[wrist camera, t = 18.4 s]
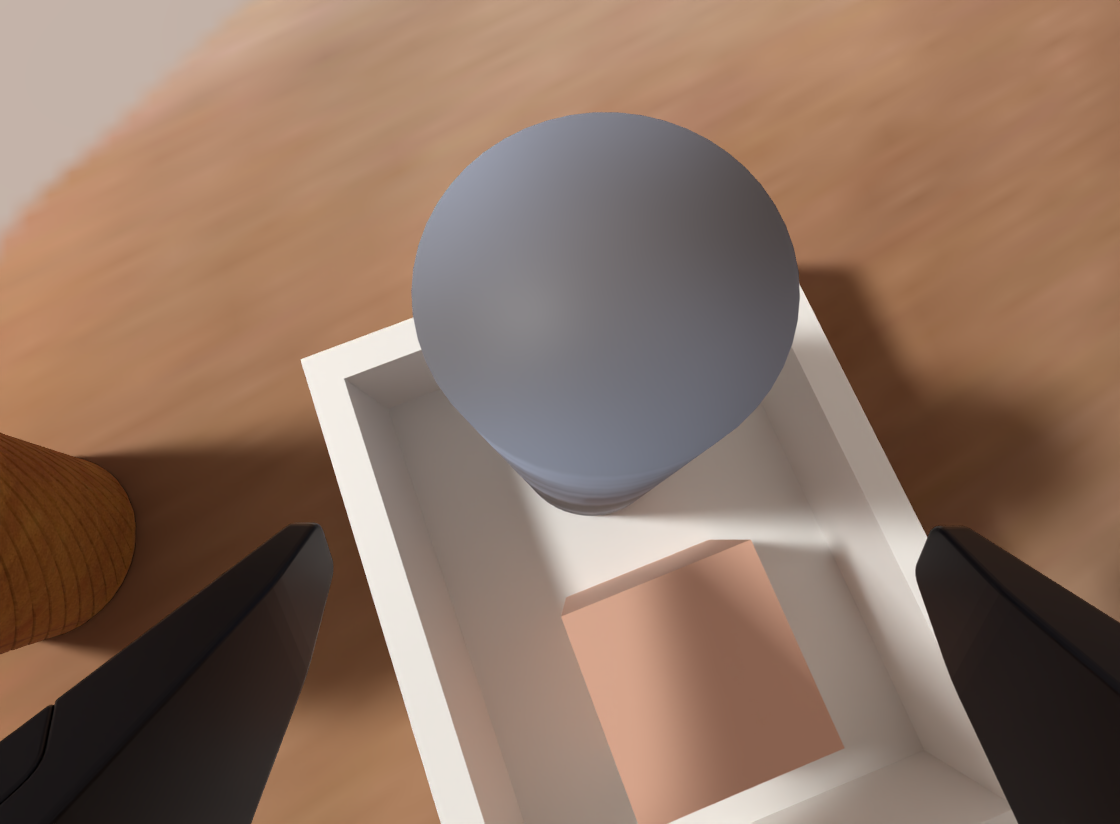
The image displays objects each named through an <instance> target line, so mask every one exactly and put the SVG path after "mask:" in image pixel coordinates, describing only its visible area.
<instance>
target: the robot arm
mask: <svg viewBox="0 0 1120 824" xmlns="http://www.w3.org/2000/svg"><path fill="white" fill-rule="evenodd" d="M332 576H333V560H332V557H331V554H330V551H329V547H328V544H327V541H326V538H325V535H324V532H323V529H322V527H321V526H320V525H319V524H317V523H292V524H289V525H288V526H286V527H285V528H283V529H282V530H281V531H279V532H278V533H277V534H275V535H274V536H273V537H271V538H270V539H269V540H267V541H266V542H265V543H263V544H262V545H261V546H259V547H258V548H257V549H255V550H254V551H253V552H252V553H250V554H249V555H248V556H246V557H245V558H244V559H242V560H241V561H240V562H238V563H237V564H236V565H234V566H233V567H232V568H230V569H229V570H228V571H226V572H225V573H224V574H222V575H221V576H220V577H218V578H217V579H216V580H214V581H213V582H212V583H210V584H209V585H208V586H206V587H205V588H204V589H202V590H201V591H200V592H199V593H197V594H196V595H195V596H193V597H192V598H191V599H189V600H188V601H187V602H185V603H184V604H183V605H181V606H180V607H179V608H177V609H176V610H175V611H173V612H172V613H171V614H169V615H168V616H167V617H165V618H164V619H163V620H161V621H160V622H159V623H157V624H156V625H155V626H153V627H152V628H151V629H149V630H148V631H147V632H146V633H144V634H143V635H142V636H140V637H139V638H138V639H136V640H135V641H134V642H132V643H131V644H130V645H128V646H127V647H126V648H124V649H123V650H122V651H120V652H119V653H118V654H116V655H115V656H114V657H112V658H111V659H110V660H108V661H107V662H106V663H104V664H103V665H102V666H100V667H99V668H98V669H96V670H95V671H94V672H93V673H91V674H90V675H89V676H87V677H86V678H85V679H83V680H82V681H81V682H79V683H78V684H77V685H75V686H74V687H73V688H71V689H70V690H69V691H67V692H66V693H65V694H63V695H62V696H61V697H59V698H58V699H57V700H56V702H55V705H49V706H47V707H46V708H44V709H43V710H42V711H41V712H39V713H38V714H37V715H35V716H34V717H33V718H31V719H30V720H29V721H27V722H26V723H25V724H23V725H22V726H21V727H19V728H18V729H17V730H15V731H14V732H13V733H11V734H10V735H8V736H7V737H6V738H4V739H3V740H2V741H0V824H251V822H252V820H253V817H254V814H255V812H256V809H257V806H258V804H259V801H260V798H261V796H262V793H263V790H264V788H265V785H266V782H267V780H268V777H269V775H270V772H271V769H272V767H273V764H274V761H275V759H276V756H277V753H278V751H279V748H280V745H281V743H282V740H283V737H284V735H285V732H286V729H287V727H288V724H289V721H290V719H291V716H292V713H293V711H294V708H295V705H296V703H297V700H298V697H299V695H300V692H301V689H302V687H303V684H304V681H305V678H306V675H307V672H308V669H309V665H310V662H311V658H312V655H313V651H314V647H315V643H316V639H317V635H318V631H319V627H320V624H321V620H322V616H323V612H324V608H325V604H326V600H327V596H328V592H329V588H330V585H331V581H332ZM915 576H916V581H917V584H918V587H919V590H920V593H921V596H922V599H923V602H924V605H925V608H926V610H927V613H928V616H929V619H930V622H931V625H932V628H933V631H934V634H935V637H936V639H937V642H938V645H939V648H940V651H941V654H942V657H943V660H944V663H945V665H946V668H947V670H948V673H949V676H950V678H951V681H952V683H953V685H954V688H955V690H956V692H957V694H958V697H959V699H960V701H961V703H962V705H963V707H964V710H965V712H966V714H967V716H968V718H969V720H970V722H971V724H972V727H973V729H974V731H975V733H976V735H977V737H978V739H979V742H980V744H981V746H982V748H983V750H984V752H985V754H986V756H987V759H988V761H989V763H990V765H991V767H992V769H993V771H994V774H995V776H996V778H997V780H998V782H999V784H1000V786H1001V788H1002V791H1003V793H1004V795H1005V797H1006V799H1007V801H1008V803H1009V806H1010V808H1011V810H1012V812H1013V814H1014V816H1015V818H1016V820H1017V823H1018V824H1120V623H1119V622H1118V621H1116V620H1115V619H1113V618H1111V617H1110V616H1108V615H1107V614H1105V613H1103V612H1102V611H1100V610H1099V609H1097V608H1095V607H1094V606H1092V605H1091V604H1089V603H1088V602H1086V601H1084V600H1083V599H1081V598H1080V597H1078V596H1076V595H1075V594H1073V593H1072V592H1070V591H1068V590H1067V589H1065V588H1064V587H1062V586H1061V585H1059V584H1057V583H1056V582H1054V581H1053V580H1051V579H1049V578H1048V577H1046V576H1045V575H1043V574H1041V573H1040V572H1038V571H1037V570H1035V569H1034V568H1032V567H1030V566H1029V565H1027V564H1026V563H1024V562H1022V561H1021V560H1019V559H1018V558H1016V557H1014V556H1013V555H1011V554H1010V553H1008V552H1007V551H1005V550H1003V549H1002V548H1000V547H999V546H997V545H995V544H994V543H992V542H991V541H989V540H987V539H986V538H984V537H983V536H981V535H980V534H978V533H976V532H975V531H973V530H972V529H970V528H968V527H965V526H936V527H934V528H933V529H932V530H931V531H930V533H929V535H928V537H927V540H926V542H925V545H924V547H923V549H922V552H921V554H920V556H919V559H918V561H917V564H916V568H915Z"/></svg>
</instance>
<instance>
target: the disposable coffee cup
mask: <svg viewBox="0 0 1120 824" xmlns="http://www.w3.org/2000/svg"><path fill="white" fill-rule="evenodd" d="M135 528H136V525H135V518H134V512H133V509H132V506H131V504H130V501H129V499H128V496H127V494H126V492H125V491H124V489H123V488H122V486H121V485H120V483H119V482H118V481H117V480H116V479H115V478H114V477H113V476H112V475H111V474H110V473H109V472H108V471H106V470H105V469H103V468H102V467H100V466H98V465H97V464H95V463H92V462H89V461H86V460H83V459H80V458H76V457H73V456H70V455H67V454H64V453H60V452H57V451H54V450H51V449H48V448H45V447H42V446H39V445H36V444H32V443H29V442H26V441H23V440H20V439H17V438H14V437H11V436H8V435H5V434H2V433H0V654H2V653H5V652H8V651H10V650H15V649H18V648H21V647H23V646H26V645H30V644H33V643H36V642H39V641H42V640H44V639H47V638H51V637H54V636H58V635H61V634H64V633H67V632H69V631H71V630H73V629H75V628H77V627H79V626H81V625H83V624H84V623H85V622H87V621H88V620H89V619H90V618H92V617H93V616H94V615H95V614H97V613H98V612H99V611H100V610H102V608H103V607H104V606H105V605H106V604H107V603H108V602H109V601H110V600H111V599H112V597H113V596H114V594H115V593H116V591H117V590H118V588H119V587H120V585H121V584H122V582H123V580H124V578H125V576H126V574H127V571H128V569H129V567H130V564H131V560H132V556H133V552H134V548H135Z"/></svg>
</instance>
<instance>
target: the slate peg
mask: <svg viewBox="0 0 1120 824" xmlns="http://www.w3.org/2000/svg"><path fill="white" fill-rule="evenodd" d="M799 301H800V288H799V272H798V267H797V262H796V257H795V252H794V248H793V245H792V242H791V239H790V236H789V233H788V230H787V228H786V225H785V223H784V221H783V219H782V217H781V215H780V213H779V212H778V210H777V208H776V206H775V204H774V203H773V201H772V200H771V198H770V197H769V195H768V194H767V192H766V191H765V190H764V188H763V187H762V185H761V184H760V183H759V182H758V181H757V180H756V179H755V178H754V176H753V175H752V174H751V173H750V172H749V171H748V170H747V169H746V168H745V167H744V166H743V165H742V164H741V163H739V162H738V161H737V160H736V159H735V158H734V157H732V156H731V155H730V154H729V153H728V152H726V151H725V150H723V149H722V148H720V147H719V146H717V145H716V144H714V143H713V142H711V141H710V140H708V139H706V138H704V137H702V136H700V135H698V134H696V133H694V132H692V131H690V130H688V129H686V128H683V127H681V126H678V125H675V124H672V123H669V122H667V121H664V120H659V119H655V118H651V117H647V116H642V115H635V114H626V113H585V114H577V115H569V116H565V117H561V118H556V119H552V120H548V121H545V122H542V123H539V124H536V125H534V126H531V127H528V128H525V129H523V130H521V131H519V132H517V133H515V134H513V135H511V136H509V137H507V138H505V139H503V140H502V141H500V142H499V143H497V144H496V145H494V146H493V147H491V148H490V149H488V150H487V151H485V152H484V153H483V154H481V155H480V156H479V157H478V158H477V159H476V160H474V161H473V162H472V163H471V164H470V165H468V166H467V167H466V168H465V169H464V170H463V172H462V173H461V174H460V175H459V176H458V177H457V178H456V179H455V180H454V181H453V182H452V184H451V185H450V186H449V188H448V189H447V190H446V192H445V193H444V195H443V196H442V197H441V199H440V200H439V202H438V203H437V205H436V207H435V209H434V211H433V212H432V214H431V216H430V218H429V220H428V222H427V224H426V227H425V229H424V232H423V235H422V237H421V240H420V243H419V246H418V250H417V255H416V259H415V264H414V268H413V280H412V308H413V318H414V323H415V328H416V333H417V338H418V341H419V344H420V347H421V350H422V353H423V356H424V358H425V361H426V363H427V365H428V367H429V369H430V371H431V373H432V375H433V377H434V379H435V381H436V383H437V384H438V386H439V387H440V389H441V390H442V391H443V393H444V394H445V396H446V397H447V398H448V400H449V401H450V403H451V404H452V405H453V406H454V407H455V408H456V409H457V410H458V412H459V413H460V414H461V415H462V416H463V417H464V418H465V419H466V420H467V421H468V422H469V423H470V424H471V425H472V426H473V427H474V428H475V429H476V431H477V432H478V433H479V434H480V435H481V436H482V437H483V438H484V439H485V440H486V441H487V442H488V443H489V444H490V445H491V446H492V447H493V448H494V449H495V450H496V451H497V452H498V453H499V454H500V455H501V456H502V457H503V458H504V460H505V461H506V462H507V463H508V464H509V465H510V466H511V467H512V468H513V469H514V470H515V471H516V472H517V473H518V474H519V475H520V476H521V477H522V478H523V479H524V480H525V481H526V482H527V483H528V484H529V485H530V486H531V487H532V489H533V490H534V491H535V492H536V493H537V494H538V495H539V496H540V497H542V498H543V499H544V500H545V501H546V502H548V503H549V504H551V505H553V506H554V507H556V508H558V509H561V510H563V511H565V512H569V513H572V514H576V515H583V516H598V515H605V514H609V513H613V512H616V511H618V510H621V509H623V508H625V507H627V506H628V505H630V504H632V503H633V502H635V501H636V500H637V499H639V498H640V497H642V496H643V495H644V494H646V493H647V492H649V491H650V490H651V489H653V488H654V487H656V486H657V485H658V484H660V483H661V482H663V481H664V480H665V479H667V478H668V477H670V476H671V475H672V474H674V473H675V472H677V471H678V470H679V469H681V468H682V467H684V466H685V465H686V464H688V463H689V462H690V461H692V460H693V459H695V458H696V457H697V456H699V455H700V454H702V453H703V452H704V451H706V450H707V449H709V448H710V447H711V446H713V445H714V444H716V443H717V442H718V441H720V440H721V439H722V438H724V437H725V436H726V435H728V434H729V433H730V432H732V431H733V430H734V429H736V428H737V427H738V426H739V425H740V424H741V423H742V422H743V421H744V420H745V419H746V418H747V417H748V416H749V415H750V414H751V413H752V412H753V411H754V410H755V409H756V408H757V407H758V405H759V404H760V403H761V402H762V400H763V399H764V398H765V396H766V395H767V394H768V392H769V391H770V390H771V388H772V386H773V385H774V383H775V381H776V379H777V378H778V376H779V374H780V372H781V370H782V369H783V367H784V364H785V362H786V359H787V357H788V354H789V351H790V349H791V346H792V343H793V339H794V335H795V330H796V326H797V322H798V313H799Z"/></svg>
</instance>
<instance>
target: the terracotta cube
mask: <svg viewBox="0 0 1120 824" xmlns="http://www.w3.org/2000/svg"><path fill="white" fill-rule="evenodd" d="M561 618H562V621H563V624H564V626H565V629H566V632H567V634H568V637H569V640H570V642H571V645H572V648H573V650H574V653H575V656H576V658H577V661H578V664H579V667H580V669H581V672H582V675H583V677H584V680H585V683H586V685H587V688H588V691H589V693H590V696H591V699H592V701H593V704H594V707H595V709H596V712H597V715H598V718H599V720H600V723H601V726H602V728H603V731H604V734H605V736H606V739H607V742H608V744H609V747H610V750H611V752H612V755H613V758H614V761H615V763H616V766H617V769H618V771H619V774H620V777H621V779H622V782H623V785H624V787H625V790H626V793H627V795H628V798H629V801H630V803H631V806H632V809H633V812H634V814H635V817H636V820H637V822H638V824H667V823H670V822H672V821H675V820H677V819H679V818H682V817H684V816H686V815H689V814H691V813H693V812H696V811H698V810H700V809H703V808H705V807H707V806H710V805H712V804H715V803H717V802H719V801H722V800H724V799H726V798H729V797H731V796H733V795H736V794H738V793H740V792H743V791H745V790H747V789H750V788H752V787H755V786H757V785H759V784H762V783H764V782H766V781H769V780H771V779H773V778H776V777H778V776H780V775H783V774H785V773H787V772H790V771H792V770H795V769H797V768H799V767H802V766H804V765H806V764H809V763H811V762H813V761H816V760H818V759H820V758H823V757H825V756H827V755H830V754H832V753H835V752H837V751H839V750H842V749H844V745H843V743H842V741H841V739H840V737H839V734H838V732H837V730H836V728H835V725H834V723H833V721H832V719H831V717H830V714H829V712H828V710H827V708H826V705H825V703H824V701H823V699H822V697H821V694H820V692H819V690H818V688H817V685H816V683H815V681H814V679H813V677H812V674H811V672H810V670H809V668H808V665H807V663H806V661H805V659H804V657H803V654H802V652H801V650H800V648H799V645H798V643H797V641H796V639H795V637H794V634H793V632H792V630H791V628H790V625H789V623H788V621H787V619H786V616H785V614H784V612H783V610H782V608H781V605H780V603H779V601H778V599H777V596H776V594H775V592H774V590H773V588H772V585H771V583H770V581H769V579H768V576H767V574H766V572H765V570H764V568H763V565H762V563H761V561H760V559H759V556H758V554H757V552H756V550H755V548H754V545H753V543H752V541H751V540H707V541H704V542H702V543H699V544H697V545H694V546H692V547H690V548H687V549H685V550H682V551H680V552H677V553H675V554H672V555H670V556H667V557H665V558H662V559H660V560H657V561H655V562H652V563H650V564H647V565H645V566H643V567H640V568H638V569H635V570H633V571H630V572H628V573H625V574H623V575H620V576H618V577H615V578H613V579H610V580H608V581H605V582H603V583H600V584H598V585H596V586H593V587H591V588H588V589H586V590H583V591H581V592H578V593H576V594H573V595H571V596H568V597H566V599H565V603H564V607H563V611H562V614H561Z"/></svg>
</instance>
